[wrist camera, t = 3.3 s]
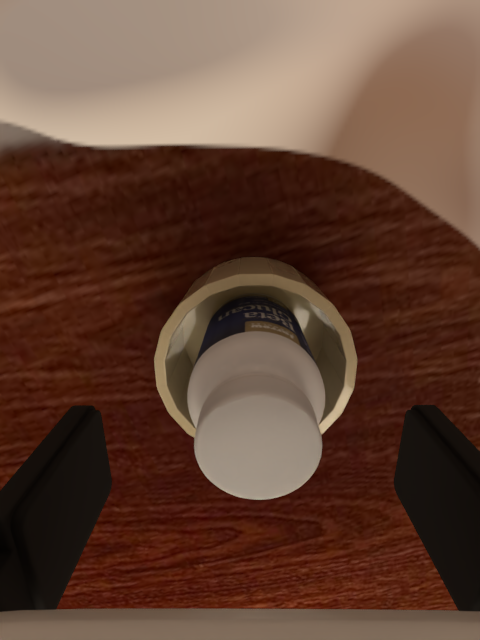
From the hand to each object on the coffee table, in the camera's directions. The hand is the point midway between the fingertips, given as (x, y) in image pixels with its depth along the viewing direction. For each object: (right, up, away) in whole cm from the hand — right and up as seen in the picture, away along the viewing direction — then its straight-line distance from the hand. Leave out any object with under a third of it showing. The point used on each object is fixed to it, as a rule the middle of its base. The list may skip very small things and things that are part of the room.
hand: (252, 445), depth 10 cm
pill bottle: (0, +3, +9) cm, 10 cm away
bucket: (0, +3, +9) cm, 10 cm away
